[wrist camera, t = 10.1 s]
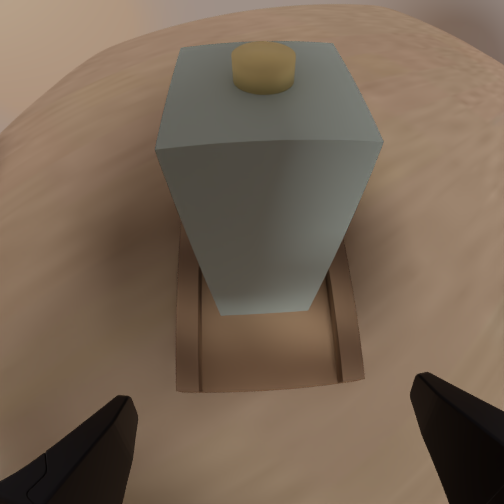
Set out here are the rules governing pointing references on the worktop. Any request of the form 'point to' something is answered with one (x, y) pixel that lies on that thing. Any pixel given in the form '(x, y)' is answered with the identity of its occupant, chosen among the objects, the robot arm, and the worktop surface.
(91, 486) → the robot arm
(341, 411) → the worktop surface
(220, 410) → the worktop surface
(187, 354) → the walnut trough
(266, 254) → the block
